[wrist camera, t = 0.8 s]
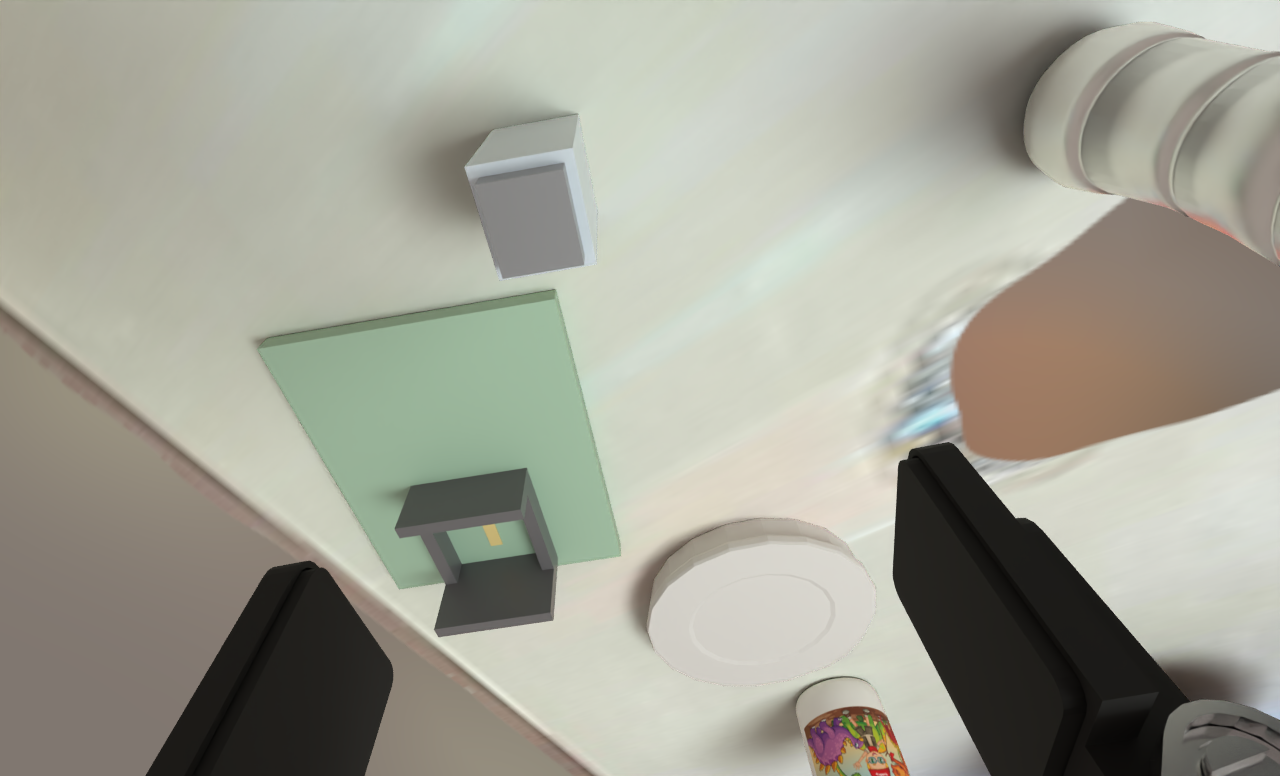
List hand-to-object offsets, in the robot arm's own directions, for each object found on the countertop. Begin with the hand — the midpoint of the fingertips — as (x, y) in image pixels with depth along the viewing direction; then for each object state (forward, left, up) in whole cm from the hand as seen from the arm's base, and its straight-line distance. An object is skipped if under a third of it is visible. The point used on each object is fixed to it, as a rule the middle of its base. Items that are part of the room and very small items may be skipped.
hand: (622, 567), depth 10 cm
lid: (+34, +6, -24) cm, 42 cm away
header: (+20, -12, -22) cm, 32 cm away
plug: (-1, -3, -23) cm, 23 cm away
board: (+15, -12, -23) cm, 30 cm away
